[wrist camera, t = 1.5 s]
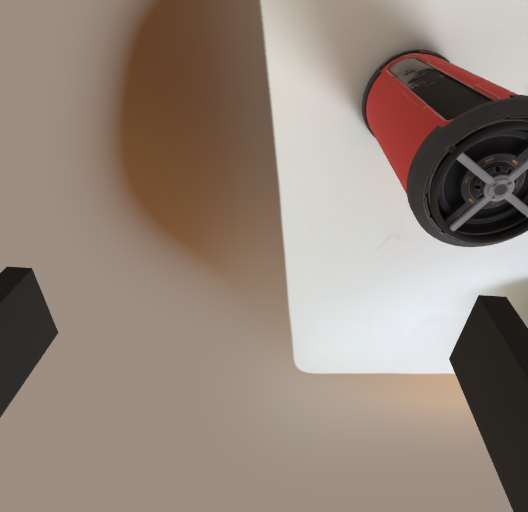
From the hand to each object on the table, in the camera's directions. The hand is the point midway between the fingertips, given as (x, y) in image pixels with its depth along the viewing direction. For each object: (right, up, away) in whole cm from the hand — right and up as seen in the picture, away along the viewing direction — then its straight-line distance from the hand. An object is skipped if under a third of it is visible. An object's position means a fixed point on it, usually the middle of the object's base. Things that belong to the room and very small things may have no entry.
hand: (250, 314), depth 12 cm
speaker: (+13, +15, +21) cm, 29 cm away
